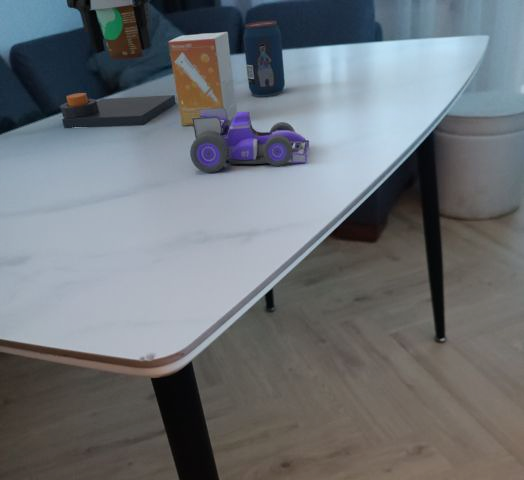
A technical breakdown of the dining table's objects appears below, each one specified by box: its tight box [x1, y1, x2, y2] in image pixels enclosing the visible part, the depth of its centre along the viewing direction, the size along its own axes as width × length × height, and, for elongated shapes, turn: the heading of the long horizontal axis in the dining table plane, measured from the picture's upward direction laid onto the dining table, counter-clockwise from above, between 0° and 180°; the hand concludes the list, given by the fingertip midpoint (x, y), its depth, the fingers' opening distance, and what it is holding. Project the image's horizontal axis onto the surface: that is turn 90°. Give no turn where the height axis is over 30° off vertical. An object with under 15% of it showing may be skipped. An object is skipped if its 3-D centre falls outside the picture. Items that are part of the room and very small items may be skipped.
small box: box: [167, 31, 238, 127], centre depth 98 cm, size 8×6×13 cm
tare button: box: [65, 92, 89, 106], centre depth 108 cm, size 4×4×2 cm
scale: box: [59, 94, 177, 129], centre depth 111 cm, size 17×15×4 cm
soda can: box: [243, 20, 286, 98], centre depth 112 cm, size 7×7×12 cm
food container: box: [90, 0, 144, 61], centre depth 103 cm, size 12×6×10 cm, turn 20°
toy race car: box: [189, 108, 310, 174], centre depth 80 cm, size 10×15×6 cm, turn 83°
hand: (122, 50), depth 105 cm, fingers closed on food container, 8 cm apart
